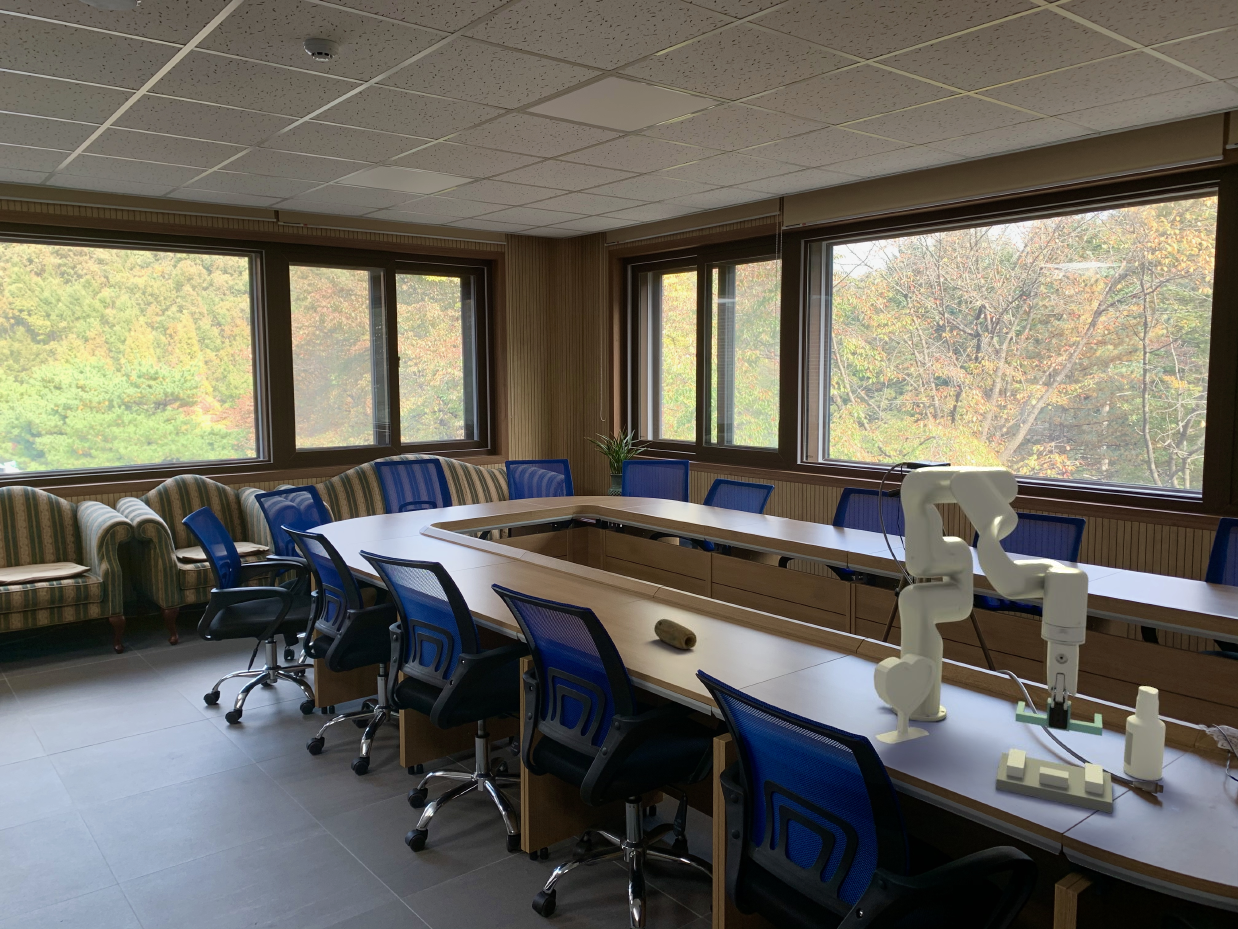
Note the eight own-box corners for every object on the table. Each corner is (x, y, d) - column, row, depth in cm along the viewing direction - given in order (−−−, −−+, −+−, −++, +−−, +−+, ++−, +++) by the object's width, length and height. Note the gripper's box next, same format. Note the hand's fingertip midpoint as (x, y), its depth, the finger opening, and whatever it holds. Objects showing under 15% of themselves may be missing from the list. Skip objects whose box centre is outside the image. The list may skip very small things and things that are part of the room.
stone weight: (650, 640, 268) (650, 619, 267) (667, 636, 272) (668, 615, 271) (682, 653, 256) (682, 631, 255) (700, 649, 260) (700, 627, 259)
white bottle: (1147, 766, 184) (1154, 683, 182) (1169, 781, 177) (1176, 695, 176) (1116, 766, 184) (1122, 683, 182) (1136, 781, 177) (1142, 695, 175)
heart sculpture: (884, 745, 193) (888, 666, 191) (868, 737, 198) (871, 659, 196) (935, 733, 200) (939, 656, 198) (918, 725, 205) (922, 649, 203)
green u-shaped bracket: (1015, 722, 173) (1016, 697, 172) (1018, 706, 181) (1019, 683, 181) (1102, 737, 166) (1103, 711, 165) (1101, 720, 174) (1102, 695, 174)
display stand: (995, 788, 173) (996, 769, 173) (1001, 761, 186) (1002, 743, 185) (1111, 813, 164) (1113, 792, 164) (1109, 782, 176) (1111, 763, 176)
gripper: (1085, 645, 160) (1079, 743, 162) (1085, 624, 174) (1079, 714, 176) (1039, 640, 163) (1034, 735, 165) (1043, 619, 178) (1038, 707, 180)
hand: (1058, 723), depth 171 cm, fingers closed on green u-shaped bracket, 2 cm apart
